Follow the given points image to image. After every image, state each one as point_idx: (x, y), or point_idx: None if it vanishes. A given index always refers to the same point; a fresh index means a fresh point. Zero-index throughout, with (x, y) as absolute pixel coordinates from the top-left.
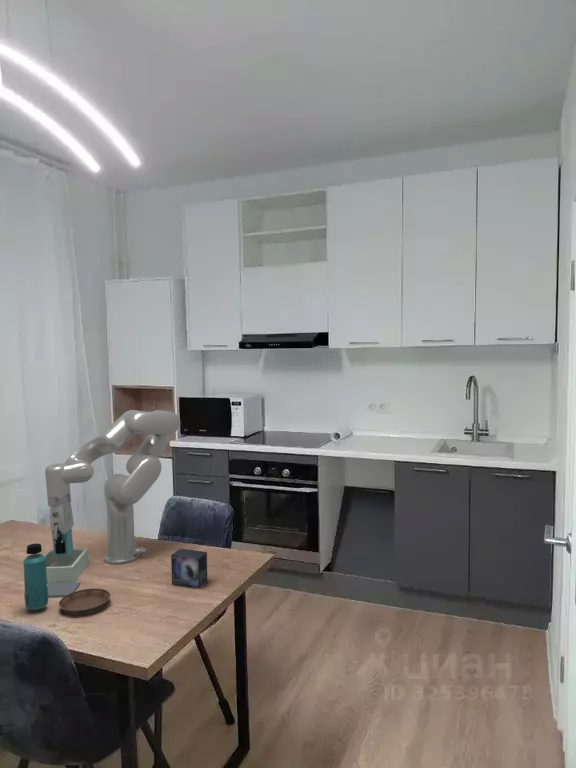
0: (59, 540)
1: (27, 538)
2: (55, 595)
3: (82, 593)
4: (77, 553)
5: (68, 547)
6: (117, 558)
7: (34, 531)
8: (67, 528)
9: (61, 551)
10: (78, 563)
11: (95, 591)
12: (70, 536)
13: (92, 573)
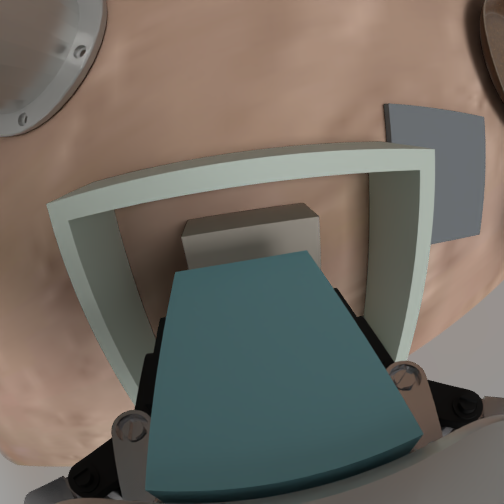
0: (459, 389)
1: (31, 442)
2: (484, 175)
3: (493, 74)
4: (95, 261)
5: (328, 293)
6: (76, 18)
7: (2, 434)
8: (468, 500)
9: (359, 318)
10: (312, 150)
11: (483, 30)
12: (235, 392)
13: (245, 82)
